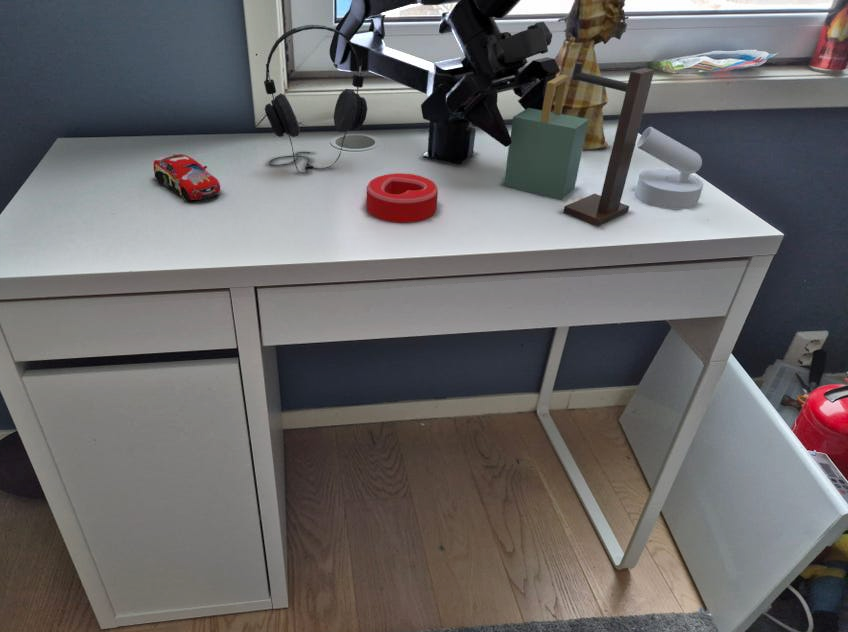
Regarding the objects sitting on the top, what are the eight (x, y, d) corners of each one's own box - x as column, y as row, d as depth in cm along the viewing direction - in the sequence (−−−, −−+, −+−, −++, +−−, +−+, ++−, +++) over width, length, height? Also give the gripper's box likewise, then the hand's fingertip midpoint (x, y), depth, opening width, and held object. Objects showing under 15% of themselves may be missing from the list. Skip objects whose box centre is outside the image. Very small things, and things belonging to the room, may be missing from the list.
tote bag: (503, 185, 97) (518, 77, 88) (517, 174, 100) (534, 70, 91) (561, 199, 93) (583, 88, 84) (574, 188, 96) (597, 80, 87)
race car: (227, 198, 92) (223, 170, 89) (192, 207, 89) (187, 179, 87) (184, 170, 100) (180, 144, 98) (150, 178, 97) (145, 151, 95)
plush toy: (509, 119, 119) (546, -32, 100) (581, 120, 120) (631, -28, 101) (528, 163, 110) (574, 6, 91) (606, 164, 111) (666, 9, 92)
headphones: (349, 148, 109) (349, 14, 97) (371, 172, 100) (373, 28, 88) (260, 157, 105) (248, 18, 93) (274, 182, 96) (263, 34, 84)
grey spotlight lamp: (638, 117, 93) (712, 122, 91) (621, 182, 98) (691, 187, 97) (646, 136, 86) (727, 142, 84) (628, 205, 92) (703, 211, 90)
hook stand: (534, 201, 92) (559, 60, 81) (565, 189, 96) (592, 52, 85) (598, 226, 86) (634, 77, 75) (627, 212, 89) (666, 68, 78)
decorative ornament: (395, 188, 95) (396, 167, 93) (449, 206, 90) (451, 184, 88) (352, 208, 89) (351, 186, 87) (408, 229, 84) (409, 206, 83)
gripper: (469, 7, 81) (526, 119, 81) (561, -6, 91) (611, 94, 91) (422, 63, 91) (472, 163, 91) (509, 46, 100) (555, 136, 100)
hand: (530, 138), depth 93 cm, fingers open, 9 cm apart
